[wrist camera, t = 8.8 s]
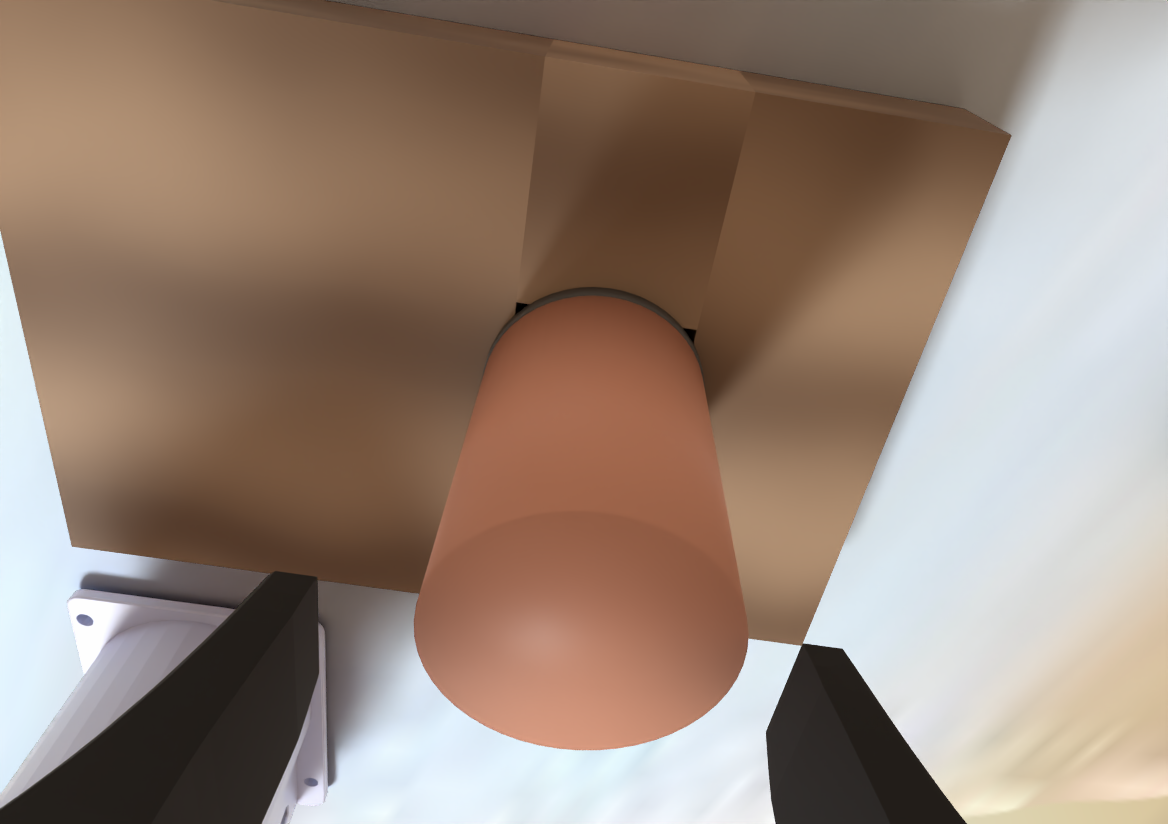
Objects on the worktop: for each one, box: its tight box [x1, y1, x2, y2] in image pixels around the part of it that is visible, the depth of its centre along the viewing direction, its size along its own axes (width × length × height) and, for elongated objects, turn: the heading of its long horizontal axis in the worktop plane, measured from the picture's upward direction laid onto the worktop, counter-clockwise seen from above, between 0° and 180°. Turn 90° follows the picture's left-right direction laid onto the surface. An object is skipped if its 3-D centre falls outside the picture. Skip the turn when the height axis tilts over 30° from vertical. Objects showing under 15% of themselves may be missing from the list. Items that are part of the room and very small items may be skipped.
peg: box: [414, 287, 749, 750], centre depth 17 cm, size 5×5×10 cm
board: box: [0, 0, 1011, 646], centre depth 20 cm, size 14×20×2 cm
